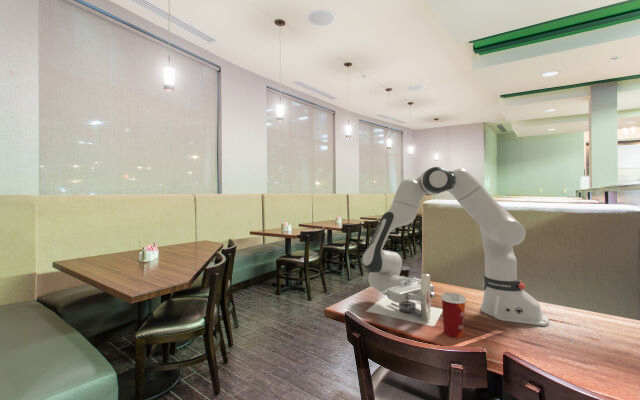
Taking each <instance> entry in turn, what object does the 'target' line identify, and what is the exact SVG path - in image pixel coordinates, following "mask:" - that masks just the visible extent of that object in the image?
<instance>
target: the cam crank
mask: <svg viewBox="0 0 640 400" xmlns="http://www.w3.org/2000/svg"><path fill="white" fill-rule="evenodd" d="M420 280H421V296H423V301H420V305H421V310H419V309H417V308H416V304H417V303H415V302H414V301H413V300H409V301H405V302H401V303H399V311H401V312H403V313H412V314H414V315H416V316H418V317H420V318H421V319H423V320H430V307H431V298H430V283H431V274H430V273H429V274H428V273H421V274H420Z"/></svg>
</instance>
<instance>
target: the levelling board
mask: <svg viewBox="0 0 640 400" xmlns="http://www.w3.org/2000/svg"><path fill="white" fill-rule="evenodd" d="M415 304H416V308H417V309H419V310H421V304H419V303H415ZM366 312H368V313H372V314H377V315H381V316H385V317H389V318H395V319H399V320H402V321H407V322H411V323H418V324H420V325H426V326H429V327H435V326H436V324H437V322H438V320H439V319H440V317H441V315H442V314H443V309H442V308H440V307H435V306H430V320H423V319H421V318H420V317H418V316H416V315H414V314H412V313H403V312H401V311H399V303H397V302H394V301H392V300H390V299H389V298H387V297H381V298H380V299H378V301H377V302H375V303H374V304H373V305H372V306H370V307H368V309H366Z"/></svg>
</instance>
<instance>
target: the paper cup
mask: <svg viewBox="0 0 640 400" xmlns="http://www.w3.org/2000/svg"><path fill="white" fill-rule="evenodd" d="M440 299H441V304H442V305H441V306H442V308H441V309H443V312H442V323H443V324H442V325H443V333H444V334H445V335H446V336H447V337H450V338H454V339H455V338H456V339H460V338H463V337H464V323H465V312H466V311H465V310H466V309H465V307H466V306H465V305H466V303H467V300H466V297H465V295H463V294H462V293H458V292H450V291H449V292H443V293H442V294H441V296H440Z"/></svg>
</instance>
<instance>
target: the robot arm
mask: <svg viewBox="0 0 640 400" xmlns="http://www.w3.org/2000/svg"><path fill="white" fill-rule="evenodd" d="M444 192H449V194H451V195H452V196H453V197H454V199H455V200H456V201H457V202H458V203H459V205H460V206H461V207H462V208H463V209H464V210H465V212H466V213H467V215H469V216H470V217H471V218H472V219H473V220H474V221H475V222H476V223H477V224H478V225H479V231H480V234H481V241H482V248H483V252H484V253H483V254H484V275H483V279H482V280H483V281H482V282H483V283H482V284H483V285H482V286H483V289H484V290H483V298H482V303H481V306H480V311H481V312H483V313H484V314H486V315H488V316H490V317H493V318H494V319H496V320H499V321H502V322H503V321H504V322H511V323H518V324H527V325H532V326H538V327H539V326H541V327H546V326H548V325H549V324H550V321H549V317H548V316H547V315H546V313H544V312H542V309H541V306H540V303H539V301H538V300H537V299H536V298H535V297H534V296H532V295H530V294H529V293H528V292H526V291H525V290H524V289H526V285H525V283H524V282H523V281H522V280H519V279H518V260H517V256H516V255H515V253H514V248H513V247H514V246H517V245H520V244H522V243H523V241H525V239H526V236H527V235H526V234H527V232H526V228H525V226H524V225H523V223H521V222H519V221H518V220H517V219H516V218H515V217H514V216H513V215H512V214H511V213H510V212H509V211H507V210H506V209H505V208H504V207H503V206H502V205H500V204H499V203H498V201H496V200H495V199H494V198H493V196H492V195H491V194H490V193H489V192H488V190H487V189H486V188H485V187H484V186H483V185H482V183H481V182H479V180H478V179H477V178H475V176H473V174H471V173H470V172H469V171H468V170H466V169H465V168H456V169H453V170H452V171H451V170H449V169H446V168H443V167H441V166H434V167H430V168H428V169H426V170H425V171H424V172H422V174H421V175H420V176H419V177H417V178H416V179H412V178H408V179H404V180H402V181H401V182H400V184H399V186H398V187H397V190H396V191H395V194H394V196H393V197H394V198H393V200H392V203H391V205H390V207H389V209H388V210H387V212H385V213H384V214H383V215H382V216H381V218H380V219H379V221H378V224H377V225H376V228H375V230H374V233H373V235H372V237H371V239H370V241H369V244H368V246H366V249H365V250H364V251H363V254H362V257H361V262H362V265H363V268H364V269H365V271H367V272H368V276H367V280H368V283H369V284H368V285H369V286H370V287H371V288H373V290H376V291H377V292H379V293H382V294H383V295H385V296H386V298H388V299H390V300H392V301H394V302H397V303H401V302H405V301H417V302H419V303H421V301H423V296H421V279H417V277H415V276H409V277H403V276H400V273H401V269H402V266H403V259H402V257H401V255H400V254H399V253H398V252H396V251H392V250H386V249H383V248H384V246H385V244H386V243H387V240H388V238H389V236H390V233H391V232H392V231H393V230H394V229H396V228H399V227H403V226H408V225H409V224H411V223H413V222H414V220H415V219H416V217H417V215H418V212H419V208H420V205H421V201H422V199H423V197H424V196H435V195H439V194H441V193H444ZM435 297H436V294H435V286H434V284H432V283H431V282H430V299H434V298H435Z"/></svg>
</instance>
